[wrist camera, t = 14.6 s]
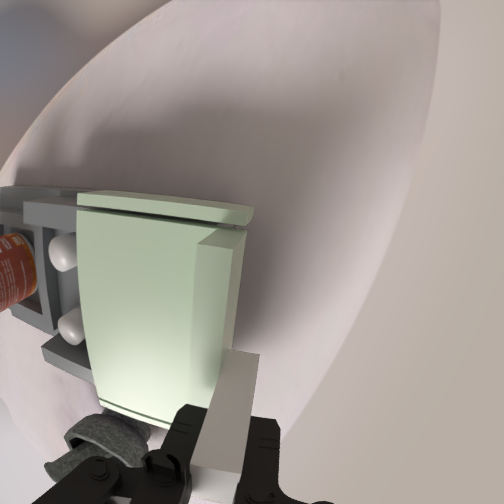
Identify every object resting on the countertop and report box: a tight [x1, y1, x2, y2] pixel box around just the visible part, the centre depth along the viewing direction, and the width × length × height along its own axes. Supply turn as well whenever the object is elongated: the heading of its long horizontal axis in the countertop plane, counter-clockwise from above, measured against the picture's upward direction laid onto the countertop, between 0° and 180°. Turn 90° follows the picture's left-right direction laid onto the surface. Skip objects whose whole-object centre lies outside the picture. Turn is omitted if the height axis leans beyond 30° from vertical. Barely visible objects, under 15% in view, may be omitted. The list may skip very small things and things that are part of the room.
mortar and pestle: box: [44, 408, 150, 483], centre depth 20 cm, size 11×9×12 cm
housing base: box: [0, 186, 235, 385], centre depth 18 cm, size 24×14×6 cm, turn 82°
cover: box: [76, 190, 254, 429], centre depth 14 cm, size 9×15×6 cm, turn 172°
